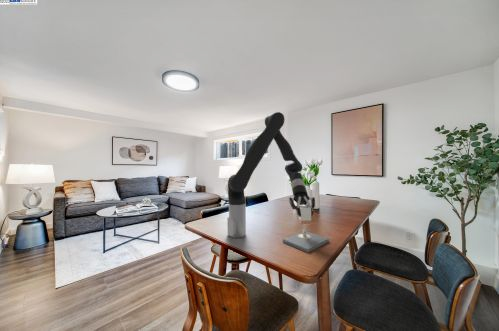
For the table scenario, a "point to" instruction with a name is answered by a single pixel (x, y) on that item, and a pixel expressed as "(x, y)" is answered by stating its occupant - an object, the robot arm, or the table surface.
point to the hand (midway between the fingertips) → (305, 215)
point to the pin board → (306, 241)
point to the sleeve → (305, 215)
